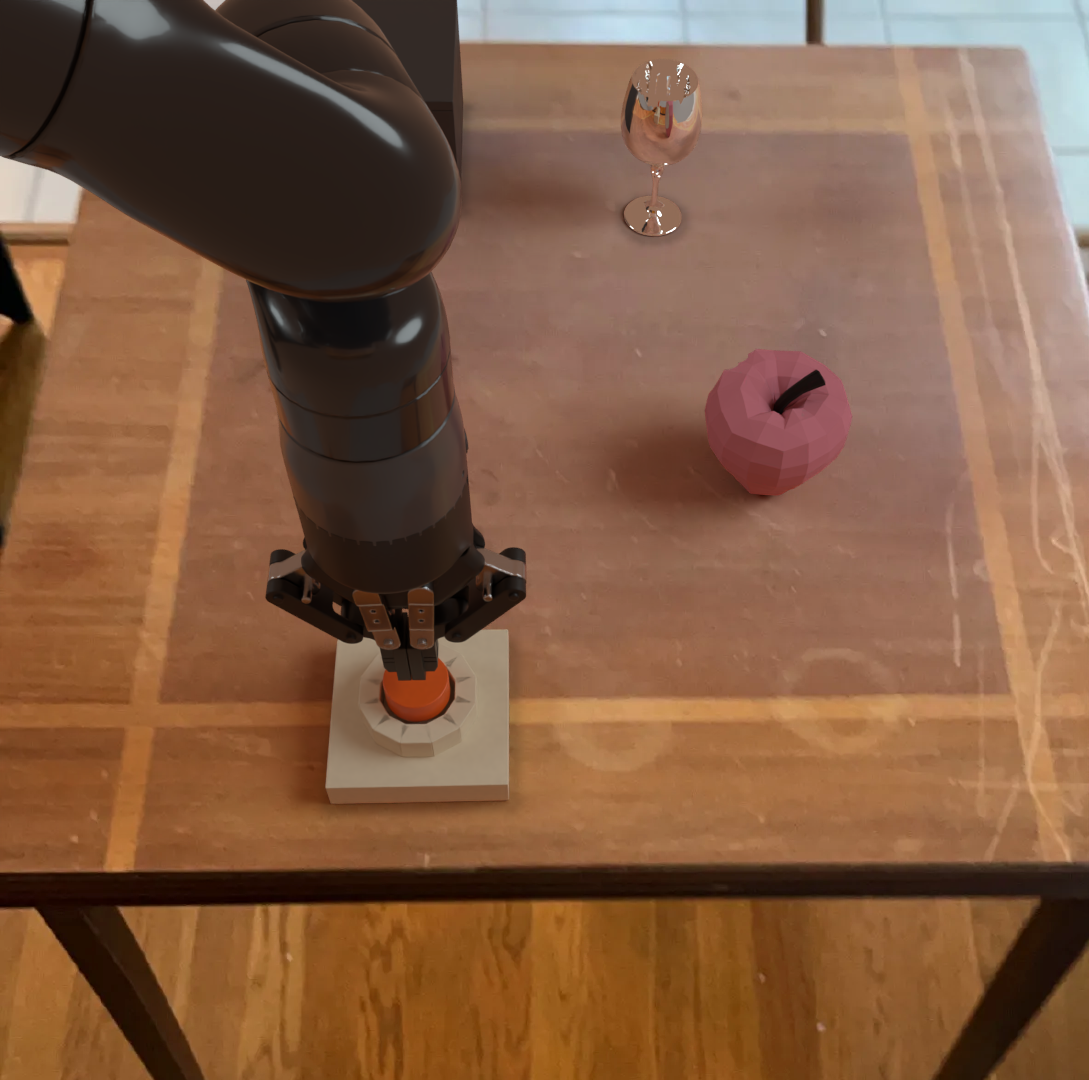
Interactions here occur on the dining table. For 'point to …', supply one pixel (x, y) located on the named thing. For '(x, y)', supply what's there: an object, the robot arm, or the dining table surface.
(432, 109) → the dark brown box
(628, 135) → the wineglass
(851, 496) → the dining table surface
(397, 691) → the button
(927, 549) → the dining table surface
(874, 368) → the dining table surface
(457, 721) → the control block
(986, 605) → the dining table surface
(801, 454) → the apple
